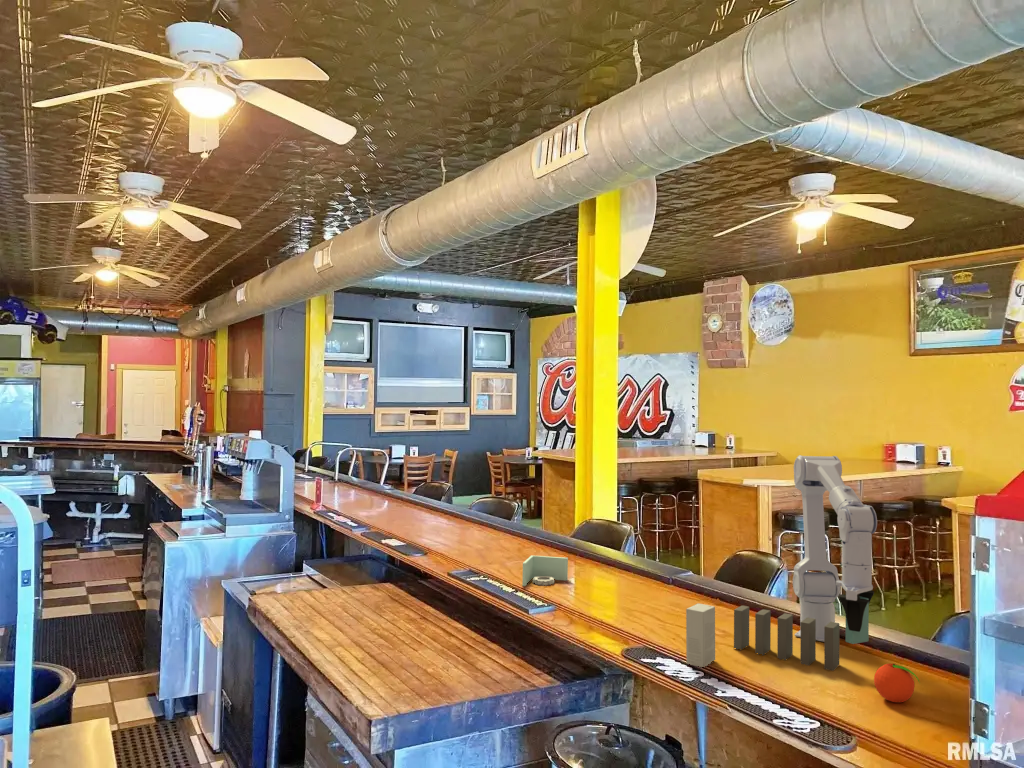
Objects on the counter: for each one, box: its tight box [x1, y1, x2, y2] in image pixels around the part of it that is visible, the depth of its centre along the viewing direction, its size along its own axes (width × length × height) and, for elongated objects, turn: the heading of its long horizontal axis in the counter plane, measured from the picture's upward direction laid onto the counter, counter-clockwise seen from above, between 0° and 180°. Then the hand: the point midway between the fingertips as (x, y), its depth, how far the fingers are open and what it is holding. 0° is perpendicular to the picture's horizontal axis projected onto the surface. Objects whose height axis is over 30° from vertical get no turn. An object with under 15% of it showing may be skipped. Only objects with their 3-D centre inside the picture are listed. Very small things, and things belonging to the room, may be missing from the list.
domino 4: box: [799, 617, 817, 666], centre depth 164 cm, size 2×5×9 cm, turn 142°
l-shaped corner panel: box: [521, 554, 569, 587], centre depth 233 cm, size 12×12×8 cm
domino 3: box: [776, 612, 794, 661], centre depth 167 cm, size 2×5×9 cm, turn 142°
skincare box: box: [685, 603, 716, 668], centre depth 162 cm, size 6×4×12 cm
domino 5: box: [823, 621, 840, 672], centre depth 160 cm, size 2×5×9 cm, turn 142°
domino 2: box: [754, 608, 772, 656], centre depth 170 cm, size 2×5×9 cm, turn 142°
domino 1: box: [733, 605, 750, 651], centre depth 173 cm, size 2×5×9 cm, turn 142°
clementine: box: [873, 663, 921, 703], centre depth 142 cm, size 8×7×7 cm
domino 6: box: [845, 597, 870, 645], centre depth 158 cm, size 2×5×9 cm, turn 116°
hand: (856, 627), depth 158 cm, fingers closed on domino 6, 5 cm apart
